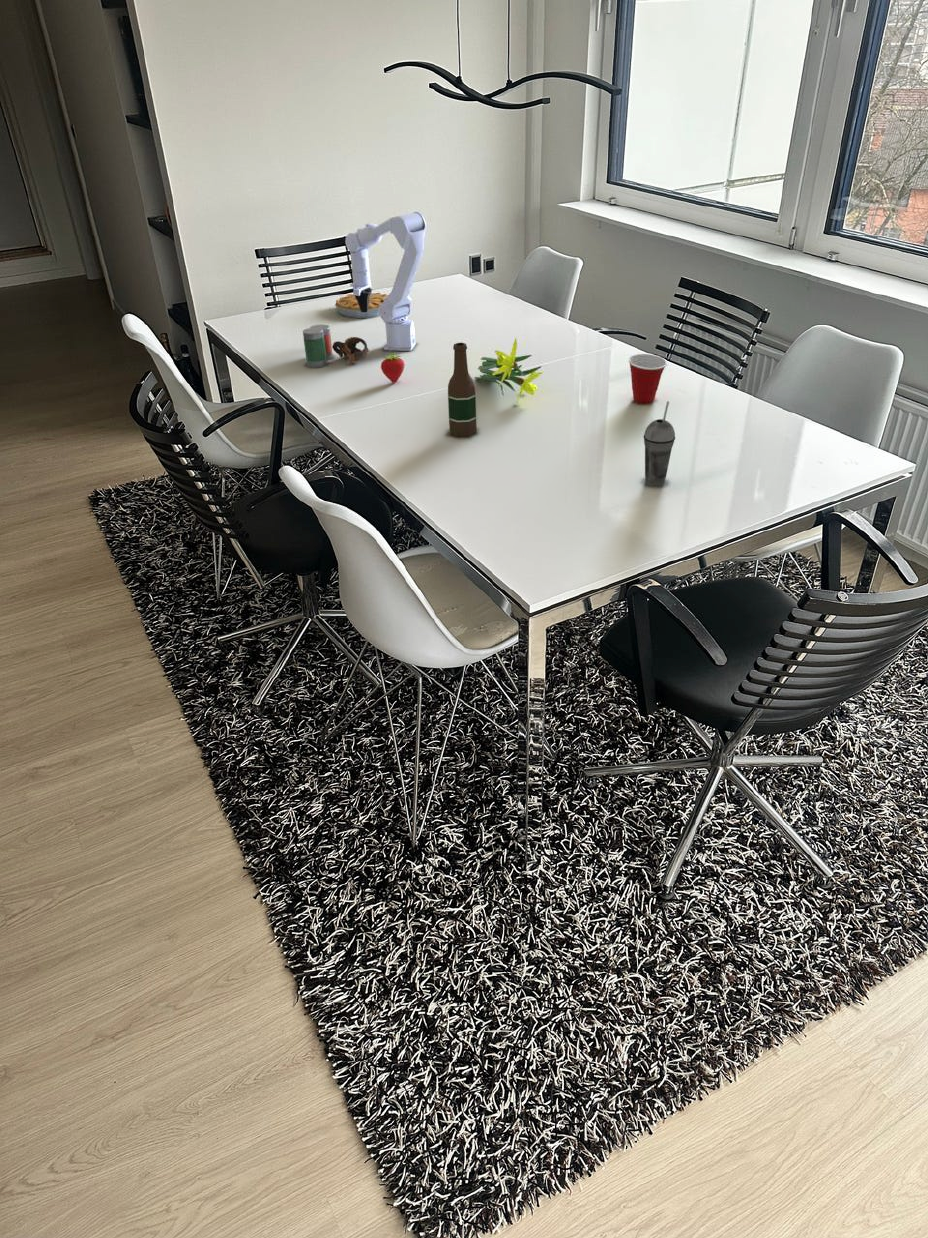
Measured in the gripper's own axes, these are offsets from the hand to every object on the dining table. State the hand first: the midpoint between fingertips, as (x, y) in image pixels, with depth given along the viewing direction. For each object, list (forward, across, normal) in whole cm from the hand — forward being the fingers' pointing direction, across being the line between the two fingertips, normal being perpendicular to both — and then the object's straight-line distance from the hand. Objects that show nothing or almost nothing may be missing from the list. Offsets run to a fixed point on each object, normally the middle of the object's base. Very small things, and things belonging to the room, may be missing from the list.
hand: (364, 311), depth 306 cm
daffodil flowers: (+10, +48, +54) cm, 73 cm away
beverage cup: (+10, +103, +99) cm, 143 cm away
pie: (+10, -34, -10) cm, 37 cm away
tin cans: (+9, +24, -10) cm, 27 cm away
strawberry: (+10, +42, +20) cm, 47 cm away
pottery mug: (+10, +22, +1) cm, 24 cm away
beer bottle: (+10, +78, +48) cm, 92 cm away
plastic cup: (+10, +50, +96) cm, 109 cm away
